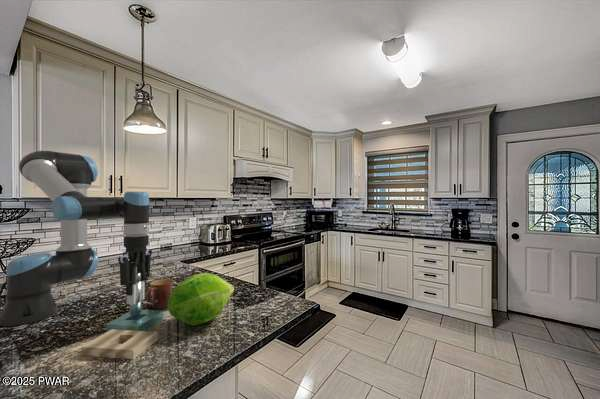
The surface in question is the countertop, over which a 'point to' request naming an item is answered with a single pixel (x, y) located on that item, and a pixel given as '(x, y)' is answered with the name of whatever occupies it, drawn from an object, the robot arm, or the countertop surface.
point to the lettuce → (199, 298)
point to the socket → (136, 321)
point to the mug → (160, 293)
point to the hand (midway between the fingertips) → (135, 301)
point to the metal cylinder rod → (137, 295)
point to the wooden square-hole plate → (112, 348)
